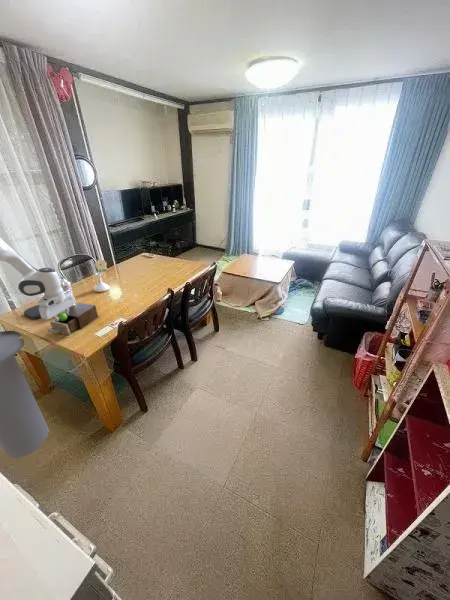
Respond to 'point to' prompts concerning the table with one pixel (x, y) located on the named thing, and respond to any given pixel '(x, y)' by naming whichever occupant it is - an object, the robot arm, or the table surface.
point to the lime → (62, 316)
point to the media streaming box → (33, 312)
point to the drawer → (64, 326)
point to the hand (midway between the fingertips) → (62, 318)
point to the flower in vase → (100, 286)
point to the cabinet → (83, 313)
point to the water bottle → (66, 285)
